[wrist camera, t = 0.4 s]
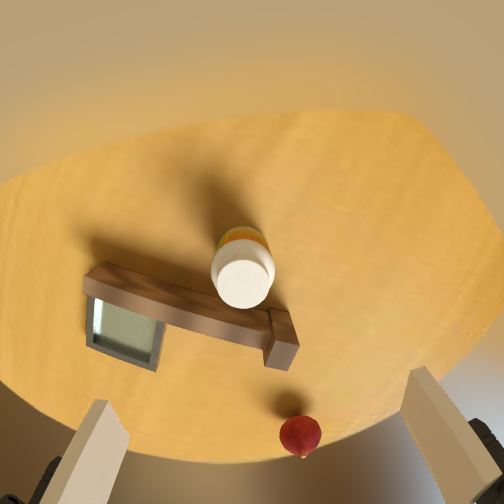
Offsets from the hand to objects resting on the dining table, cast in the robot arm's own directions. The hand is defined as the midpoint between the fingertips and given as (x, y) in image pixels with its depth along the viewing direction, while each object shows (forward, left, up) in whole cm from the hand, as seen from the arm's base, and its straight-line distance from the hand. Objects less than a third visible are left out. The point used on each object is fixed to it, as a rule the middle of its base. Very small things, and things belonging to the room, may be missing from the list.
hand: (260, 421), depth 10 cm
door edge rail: (-6, -6, -21) cm, 23 cm away
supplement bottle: (-1, +1, -22) cm, 22 cm away
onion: (+14, -21, -22) cm, 33 cm away
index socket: (-12, -12, -21) cm, 27 cm away
